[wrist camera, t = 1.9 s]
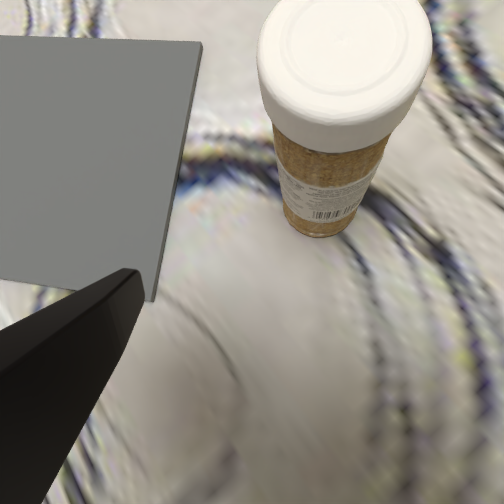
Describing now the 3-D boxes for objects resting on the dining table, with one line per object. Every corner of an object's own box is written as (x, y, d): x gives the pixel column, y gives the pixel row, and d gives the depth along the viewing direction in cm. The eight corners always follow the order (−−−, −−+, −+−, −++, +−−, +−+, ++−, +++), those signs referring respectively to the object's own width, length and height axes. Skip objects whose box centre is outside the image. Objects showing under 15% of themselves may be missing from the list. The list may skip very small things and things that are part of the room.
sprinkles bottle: (354, 167, 22) (429, -49, 9) (358, 239, 22) (447, 112, 8) (280, 171, 23) (254, -27, 10) (281, 241, 22) (253, 125, 9)
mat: (153, 301, 22) (150, 301, 22) (-88, 265, 25) (-95, 263, 25) (202, 46, 25) (200, 41, 25) (-18, 39, 28) (-24, 34, 28)
